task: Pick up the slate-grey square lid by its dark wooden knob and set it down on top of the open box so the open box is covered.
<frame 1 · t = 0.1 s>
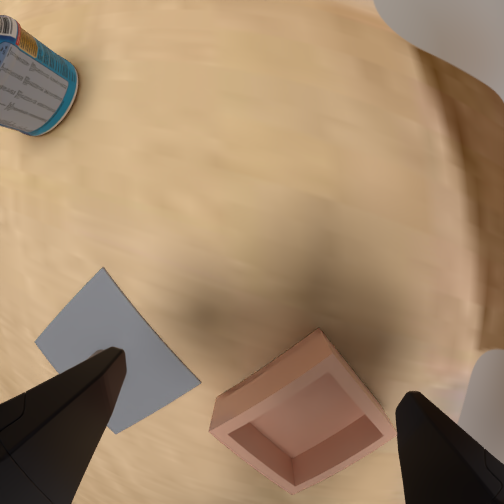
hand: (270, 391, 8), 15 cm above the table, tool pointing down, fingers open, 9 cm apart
beverage bottle: (49, 99, 22), on the table
lid: (109, 360, 25), on the table
open box: (302, 404, 25), on the table
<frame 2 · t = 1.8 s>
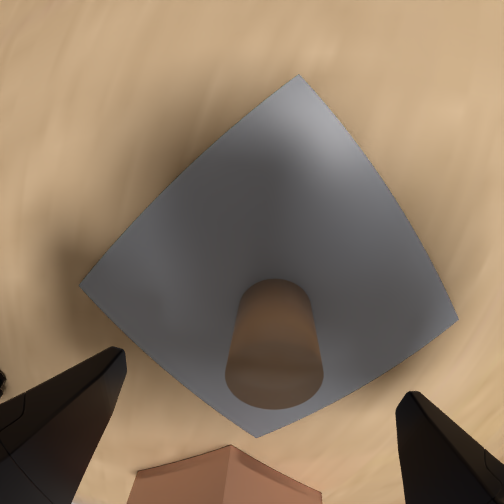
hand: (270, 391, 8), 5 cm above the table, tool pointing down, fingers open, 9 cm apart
lid: (274, 302, 13), on the table
open box: (228, 489, 19), on the table
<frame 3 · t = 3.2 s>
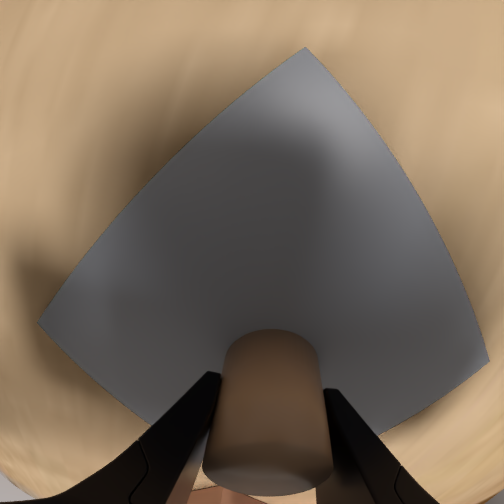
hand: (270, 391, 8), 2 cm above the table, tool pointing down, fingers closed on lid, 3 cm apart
lid: (271, 351, 10), on the table, touching gripper
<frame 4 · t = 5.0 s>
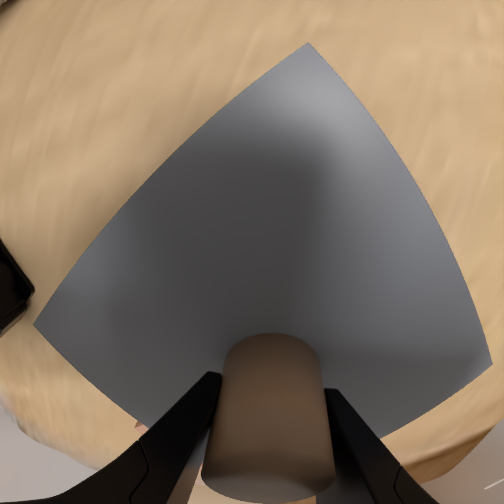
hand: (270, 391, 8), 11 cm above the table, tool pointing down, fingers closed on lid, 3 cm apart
lid: (272, 354, 10), point 10 cm above the table, touching gripper
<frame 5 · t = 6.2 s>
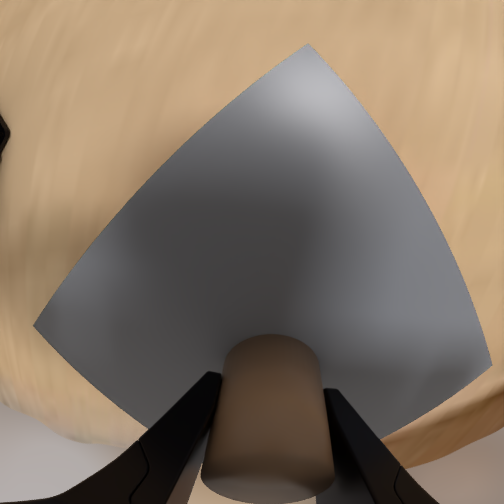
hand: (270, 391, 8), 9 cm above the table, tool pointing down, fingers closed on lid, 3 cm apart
lid: (271, 356, 10), point 8 cm above the table, touching gripper
when the fingers open (8 cm above the table, at t = 7.1 s): lid drops 1 cm, resting on open box.
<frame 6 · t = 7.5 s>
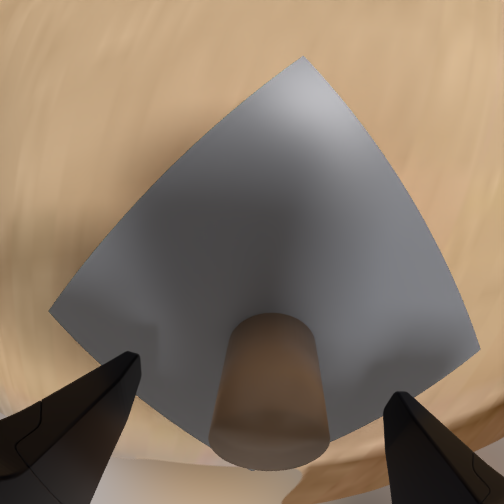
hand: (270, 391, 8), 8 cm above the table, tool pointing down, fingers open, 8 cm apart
lid: (272, 335, 11), point 5 cm above the table, touching open box
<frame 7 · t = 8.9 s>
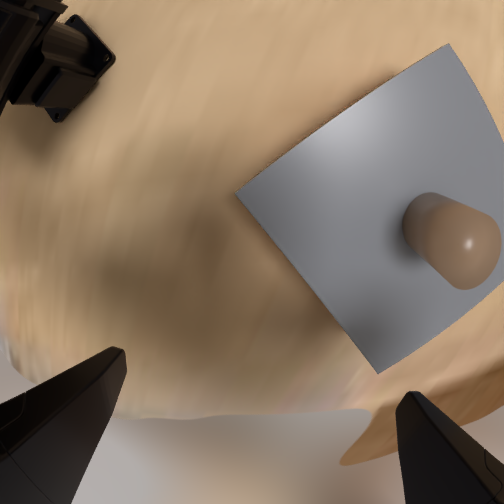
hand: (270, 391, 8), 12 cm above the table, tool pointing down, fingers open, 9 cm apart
lid: (422, 219, 13), point 5 cm above the table, touching open box
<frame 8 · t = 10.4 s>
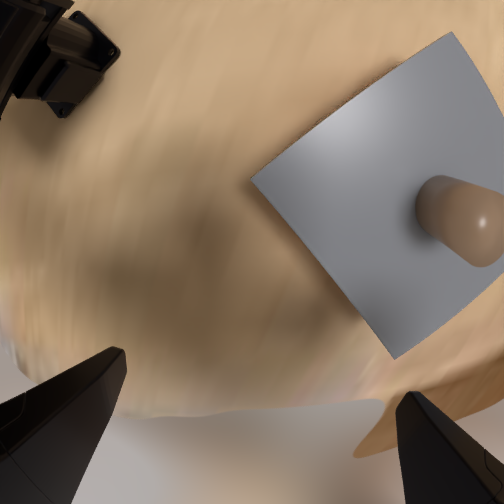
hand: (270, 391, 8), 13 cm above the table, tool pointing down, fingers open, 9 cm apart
lid: (433, 202, 13), point 5 cm above the table, touching open box
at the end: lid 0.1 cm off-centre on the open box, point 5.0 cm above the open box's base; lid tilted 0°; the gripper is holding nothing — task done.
